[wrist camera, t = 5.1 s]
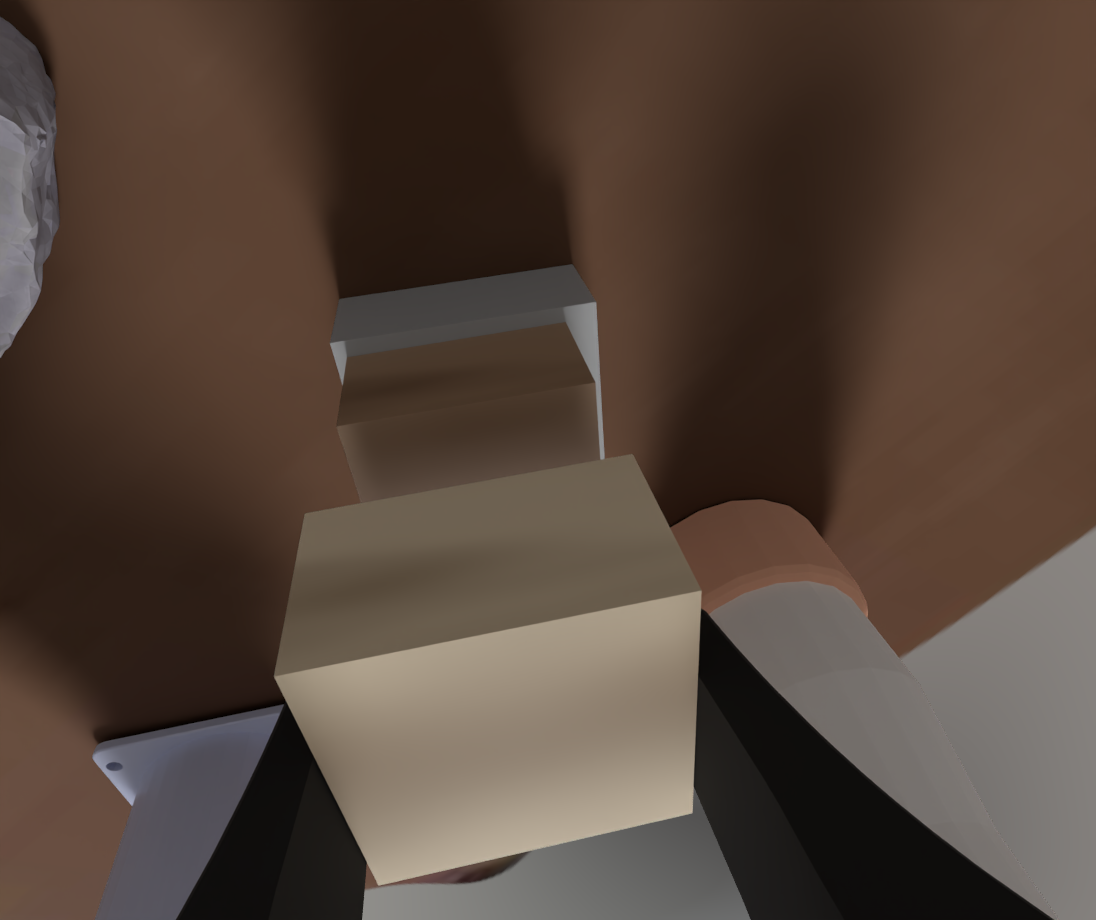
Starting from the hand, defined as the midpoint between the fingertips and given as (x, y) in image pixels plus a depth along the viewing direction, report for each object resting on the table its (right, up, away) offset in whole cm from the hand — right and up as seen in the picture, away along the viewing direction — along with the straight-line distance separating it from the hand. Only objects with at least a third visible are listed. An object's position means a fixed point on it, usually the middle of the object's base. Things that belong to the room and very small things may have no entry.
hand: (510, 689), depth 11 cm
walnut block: (-1, +4, +6) cm, 8 cm away
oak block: (0, +1, +1) cm, 2 cm away
